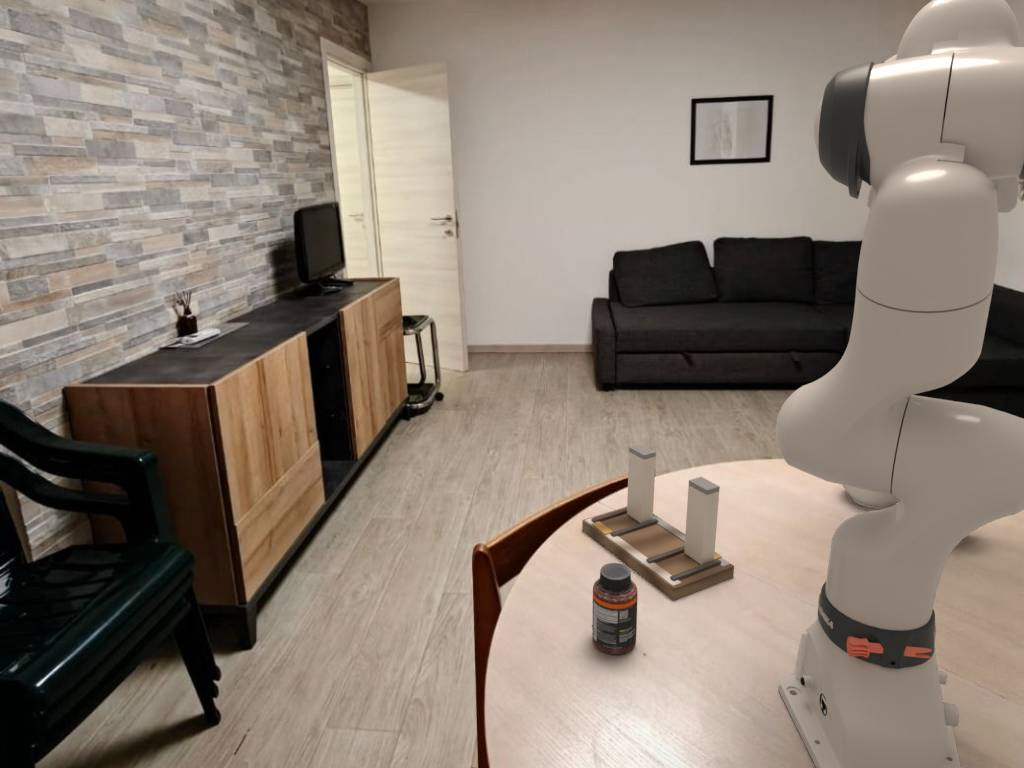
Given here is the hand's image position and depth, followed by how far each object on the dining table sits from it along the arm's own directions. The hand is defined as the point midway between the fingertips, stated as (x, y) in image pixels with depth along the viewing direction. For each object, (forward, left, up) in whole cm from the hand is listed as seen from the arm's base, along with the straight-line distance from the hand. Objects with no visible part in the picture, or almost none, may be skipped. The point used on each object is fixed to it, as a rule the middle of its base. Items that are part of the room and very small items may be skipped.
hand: (933, 233), depth 117 cm
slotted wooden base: (-22, +42, -50) cm, 69 cm away
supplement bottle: (-46, +47, -50) cm, 82 cm away
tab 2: (-25, +35, -47) cm, 64 cm away
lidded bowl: (+3, +2, -50) cm, 50 cm away
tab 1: (-14, +45, -47) cm, 67 cm away
